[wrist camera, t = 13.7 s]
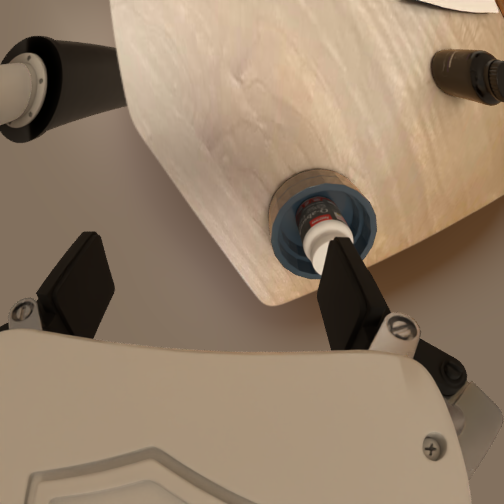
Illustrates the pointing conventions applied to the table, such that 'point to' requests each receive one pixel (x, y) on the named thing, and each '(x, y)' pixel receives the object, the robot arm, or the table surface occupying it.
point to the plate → (466, 5)
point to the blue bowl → (306, 187)
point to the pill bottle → (320, 228)
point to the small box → (501, 5)
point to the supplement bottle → (470, 75)
